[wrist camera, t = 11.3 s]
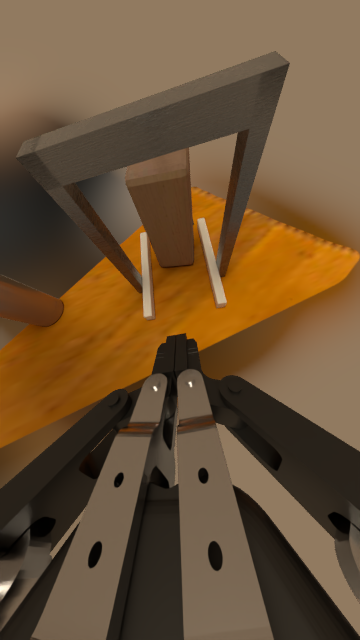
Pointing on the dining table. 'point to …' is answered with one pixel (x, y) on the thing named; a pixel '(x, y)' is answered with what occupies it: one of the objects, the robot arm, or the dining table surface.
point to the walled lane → (210, 262)
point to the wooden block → (165, 205)
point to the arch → (163, 145)
